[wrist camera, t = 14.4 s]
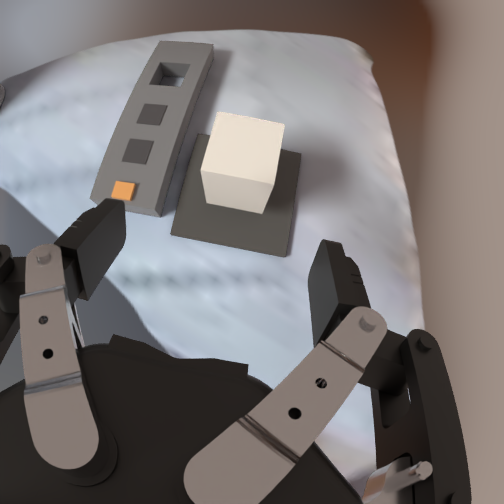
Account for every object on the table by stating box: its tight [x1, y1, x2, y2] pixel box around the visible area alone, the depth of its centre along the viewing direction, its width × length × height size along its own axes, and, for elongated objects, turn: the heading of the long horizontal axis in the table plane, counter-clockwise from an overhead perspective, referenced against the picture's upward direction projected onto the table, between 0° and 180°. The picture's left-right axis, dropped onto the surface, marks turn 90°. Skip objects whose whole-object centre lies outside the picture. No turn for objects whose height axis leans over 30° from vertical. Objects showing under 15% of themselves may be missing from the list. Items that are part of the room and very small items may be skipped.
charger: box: [200, 112, 285, 214], centre depth 24 cm, size 5×5×9 cm
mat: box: [170, 134, 301, 257], centre depth 29 cm, size 11×11×1 cm
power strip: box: [90, 41, 214, 218], centre depth 29 cm, size 7×22×3 cm, turn 169°
